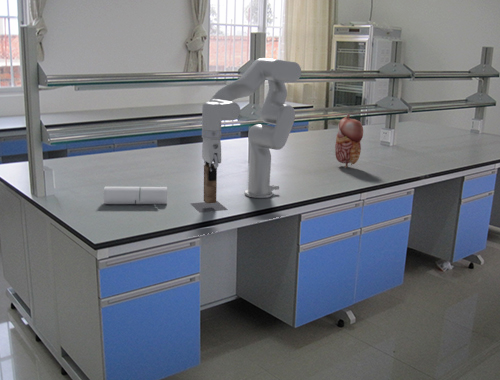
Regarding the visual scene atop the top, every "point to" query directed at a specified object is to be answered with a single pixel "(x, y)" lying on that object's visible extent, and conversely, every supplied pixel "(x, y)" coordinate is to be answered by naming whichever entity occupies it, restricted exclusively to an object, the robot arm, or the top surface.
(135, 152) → the top surface
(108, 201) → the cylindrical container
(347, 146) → the anatomical model
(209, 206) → the mat
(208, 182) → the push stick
